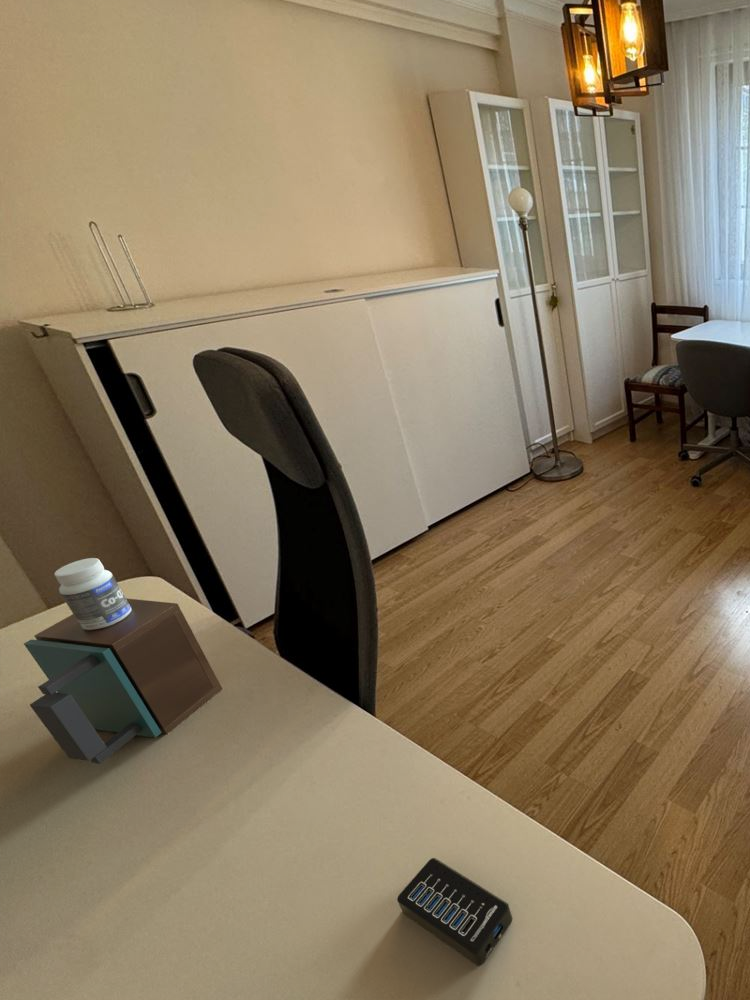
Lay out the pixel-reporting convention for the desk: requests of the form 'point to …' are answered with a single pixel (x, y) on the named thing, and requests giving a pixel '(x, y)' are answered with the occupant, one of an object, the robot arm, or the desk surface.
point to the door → (87, 700)
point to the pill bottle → (92, 594)
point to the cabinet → (151, 658)
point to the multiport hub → (456, 910)
